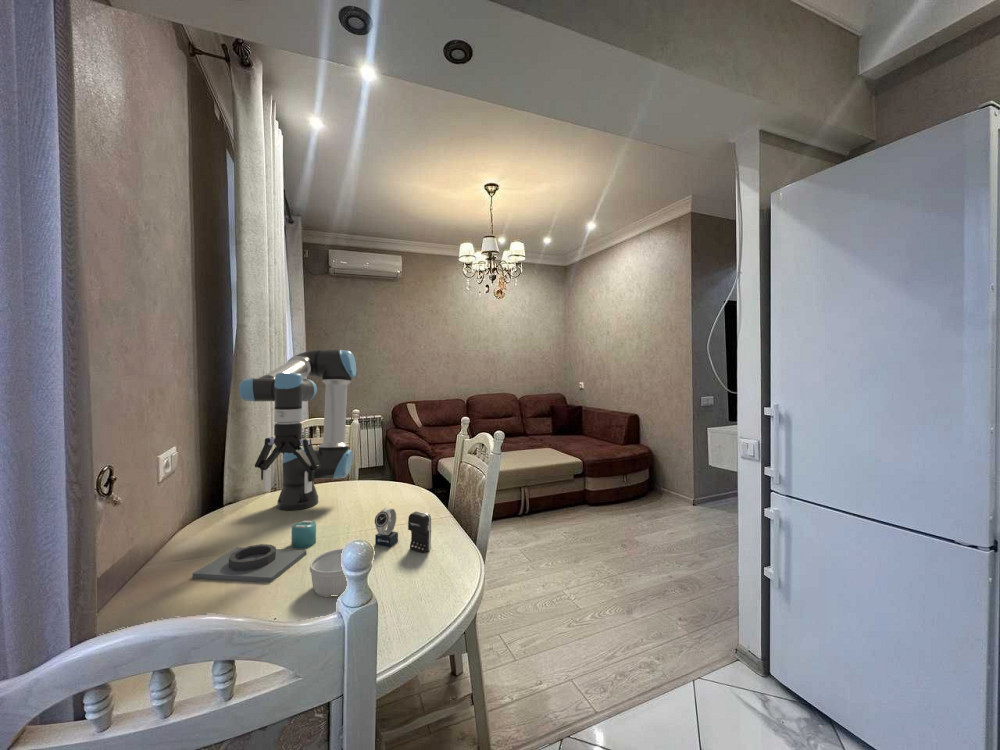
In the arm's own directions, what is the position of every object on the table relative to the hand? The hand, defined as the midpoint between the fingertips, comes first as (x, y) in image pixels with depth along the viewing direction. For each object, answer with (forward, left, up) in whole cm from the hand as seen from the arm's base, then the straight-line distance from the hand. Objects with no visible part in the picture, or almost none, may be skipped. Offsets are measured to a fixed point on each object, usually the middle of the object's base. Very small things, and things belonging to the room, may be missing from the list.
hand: (287, 491), depth 123 cm
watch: (-7, +29, -18) cm, 35 cm away
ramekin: (+19, +26, -18) cm, 37 cm away
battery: (-3, +41, -18) cm, 45 cm away
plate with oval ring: (+11, -3, -18) cm, 21 cm away
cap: (-4, +3, -18) cm, 19 cm away
